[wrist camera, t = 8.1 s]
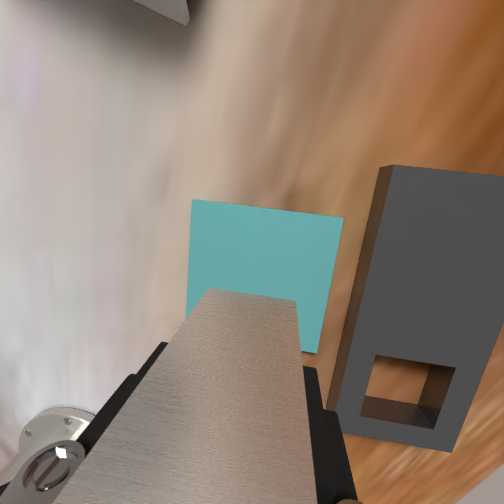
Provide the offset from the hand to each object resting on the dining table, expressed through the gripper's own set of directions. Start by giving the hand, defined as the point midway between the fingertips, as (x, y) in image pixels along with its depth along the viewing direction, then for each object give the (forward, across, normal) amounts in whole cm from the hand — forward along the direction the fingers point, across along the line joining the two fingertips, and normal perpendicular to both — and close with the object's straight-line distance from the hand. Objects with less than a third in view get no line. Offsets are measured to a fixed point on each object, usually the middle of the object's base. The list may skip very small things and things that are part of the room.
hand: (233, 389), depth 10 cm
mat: (+13, 0, 0) cm, 13 cm away
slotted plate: (+13, -13, +1) cm, 18 cm away
